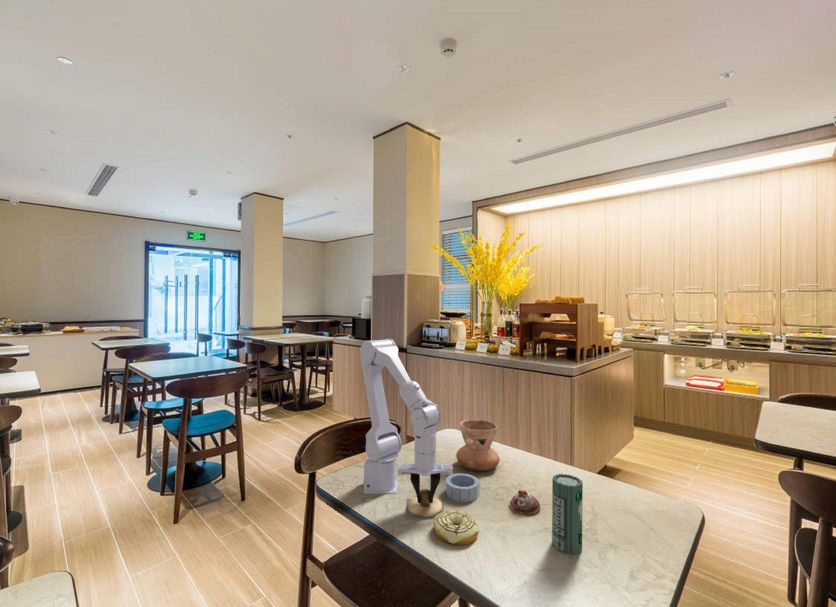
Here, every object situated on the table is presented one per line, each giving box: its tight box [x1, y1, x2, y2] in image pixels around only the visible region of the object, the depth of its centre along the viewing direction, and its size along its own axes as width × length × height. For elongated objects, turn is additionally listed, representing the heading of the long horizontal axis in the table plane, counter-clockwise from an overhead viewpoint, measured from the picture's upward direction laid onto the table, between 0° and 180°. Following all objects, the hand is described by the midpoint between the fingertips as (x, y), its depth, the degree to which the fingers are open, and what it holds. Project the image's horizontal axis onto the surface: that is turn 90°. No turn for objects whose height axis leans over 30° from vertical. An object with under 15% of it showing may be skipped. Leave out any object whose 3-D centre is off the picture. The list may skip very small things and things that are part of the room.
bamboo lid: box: [408, 488, 442, 518], centre depth 102 cm, size 9×9×4 cm
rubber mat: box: [405, 498, 445, 520], centre depth 102 cm, size 10×10×1 cm
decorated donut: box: [433, 509, 480, 546], centre depth 91 cm, size 10×11×4 cm
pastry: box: [509, 489, 541, 516], centre depth 103 cm, size 8×8×5 cm
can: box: [551, 473, 584, 556], centre depth 87 cm, size 6×6×15 cm
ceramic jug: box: [455, 418, 500, 472], centre depth 130 cm, size 18×14×14 cm
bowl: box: [445, 473, 480, 503], centre depth 110 cm, size 9×9×4 cm
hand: (425, 501), depth 102 cm, fingers closed on bamboo lid, 3 cm apart
